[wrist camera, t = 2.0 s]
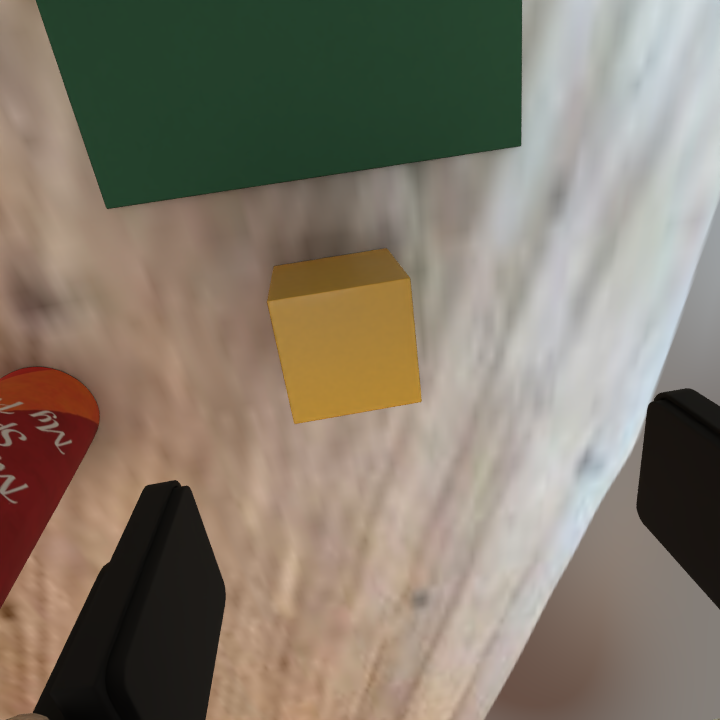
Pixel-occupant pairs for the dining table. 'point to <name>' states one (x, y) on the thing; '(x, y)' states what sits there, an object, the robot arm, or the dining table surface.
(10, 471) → the paper cup
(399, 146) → the towel
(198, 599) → the robot arm
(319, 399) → the yellow block
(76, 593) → the dining table surface
